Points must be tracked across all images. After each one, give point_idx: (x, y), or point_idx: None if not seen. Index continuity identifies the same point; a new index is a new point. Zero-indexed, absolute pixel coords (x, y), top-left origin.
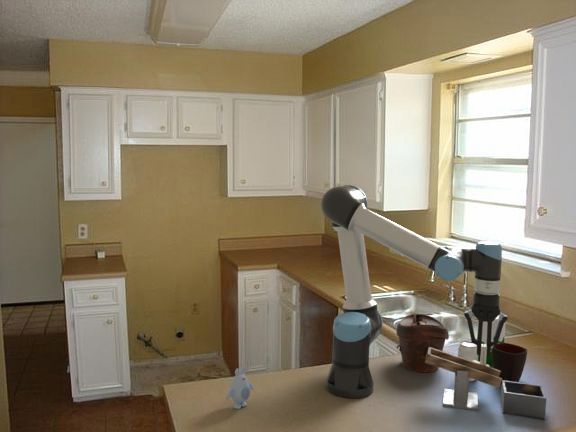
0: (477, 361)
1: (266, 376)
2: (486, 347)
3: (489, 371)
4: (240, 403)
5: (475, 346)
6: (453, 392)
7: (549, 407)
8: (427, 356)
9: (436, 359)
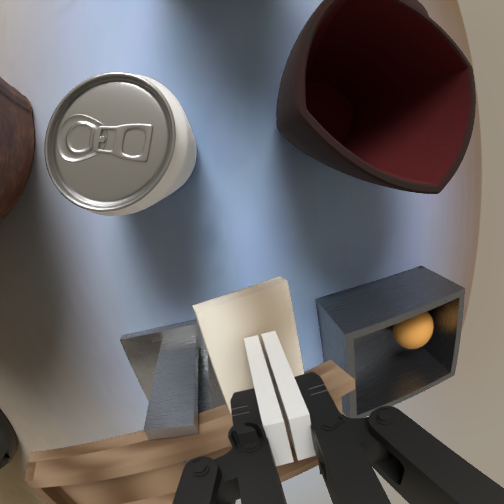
0: (222, 309)
1: None
2: (312, 454)
3: None
4: None
5: (166, 169)
6: (158, 353)
7: (440, 258)
8: None
9: None
